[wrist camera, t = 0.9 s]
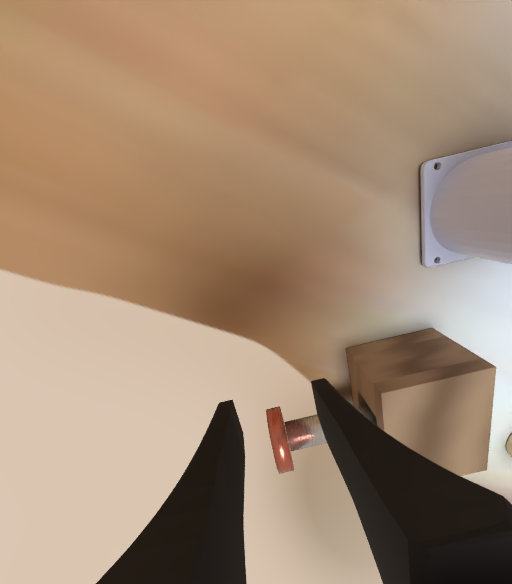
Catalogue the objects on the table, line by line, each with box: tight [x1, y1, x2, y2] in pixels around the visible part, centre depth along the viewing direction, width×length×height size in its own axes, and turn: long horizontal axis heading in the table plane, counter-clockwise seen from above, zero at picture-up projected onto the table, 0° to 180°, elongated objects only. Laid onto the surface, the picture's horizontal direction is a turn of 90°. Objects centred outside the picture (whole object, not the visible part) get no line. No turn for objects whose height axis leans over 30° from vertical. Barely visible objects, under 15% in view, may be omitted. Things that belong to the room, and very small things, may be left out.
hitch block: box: [346, 328, 496, 476], centre depth 22 cm, size 8×10×6 cm
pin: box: [266, 403, 377, 474], centre depth 22 cm, size 12×5×5 cm, turn 103°
